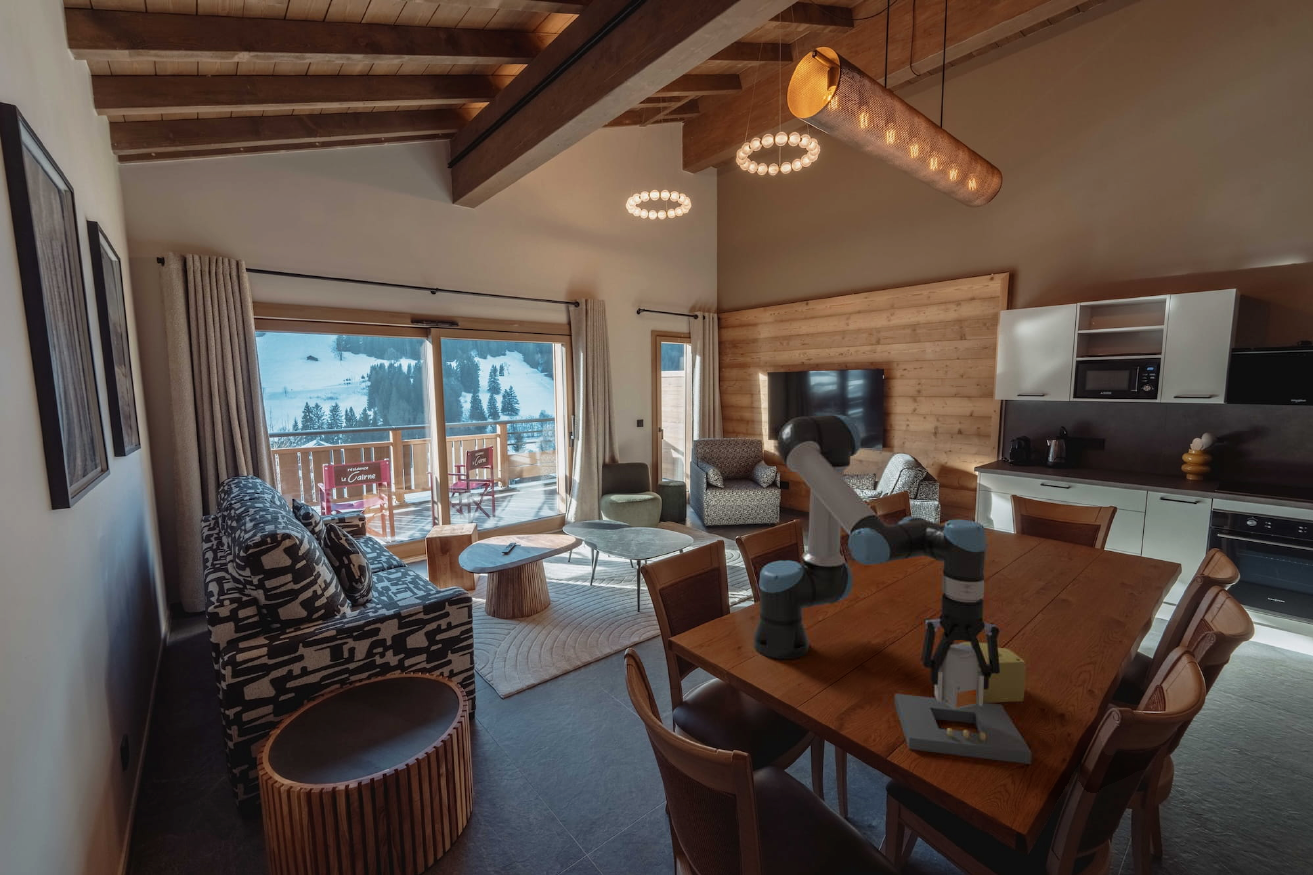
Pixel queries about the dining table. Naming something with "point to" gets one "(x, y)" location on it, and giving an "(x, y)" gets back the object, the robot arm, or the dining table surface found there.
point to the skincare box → (960, 676)
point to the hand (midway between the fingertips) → (958, 699)
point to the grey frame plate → (990, 719)
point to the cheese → (1004, 677)
